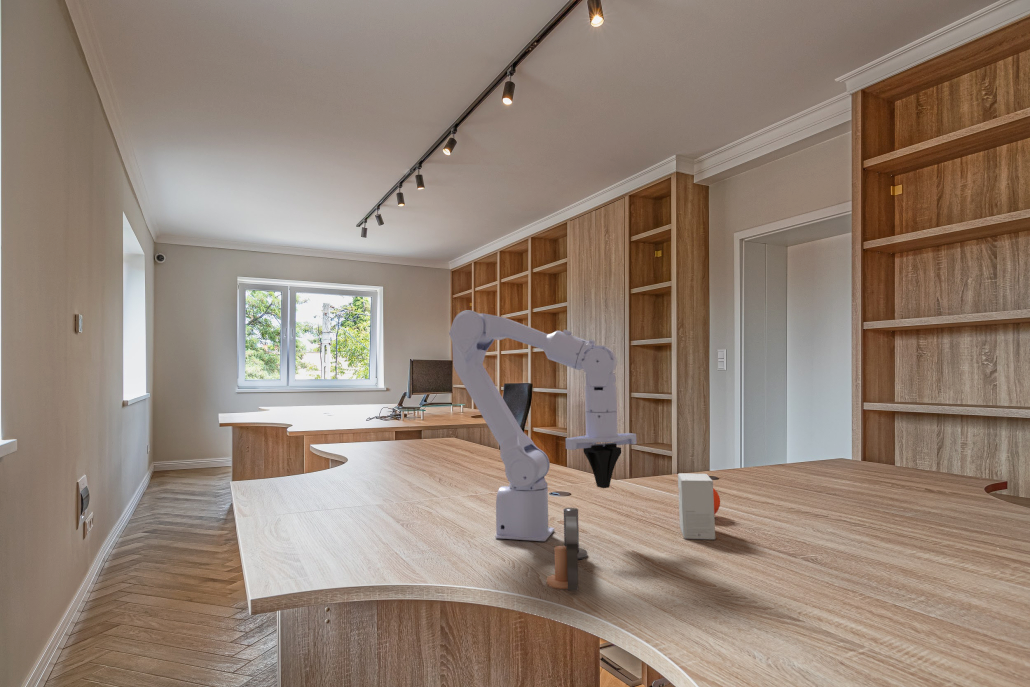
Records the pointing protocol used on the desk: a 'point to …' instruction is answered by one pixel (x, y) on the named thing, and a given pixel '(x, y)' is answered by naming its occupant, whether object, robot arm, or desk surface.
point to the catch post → (559, 570)
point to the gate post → (574, 513)
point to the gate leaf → (572, 553)
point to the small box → (696, 506)
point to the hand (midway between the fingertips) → (603, 487)
